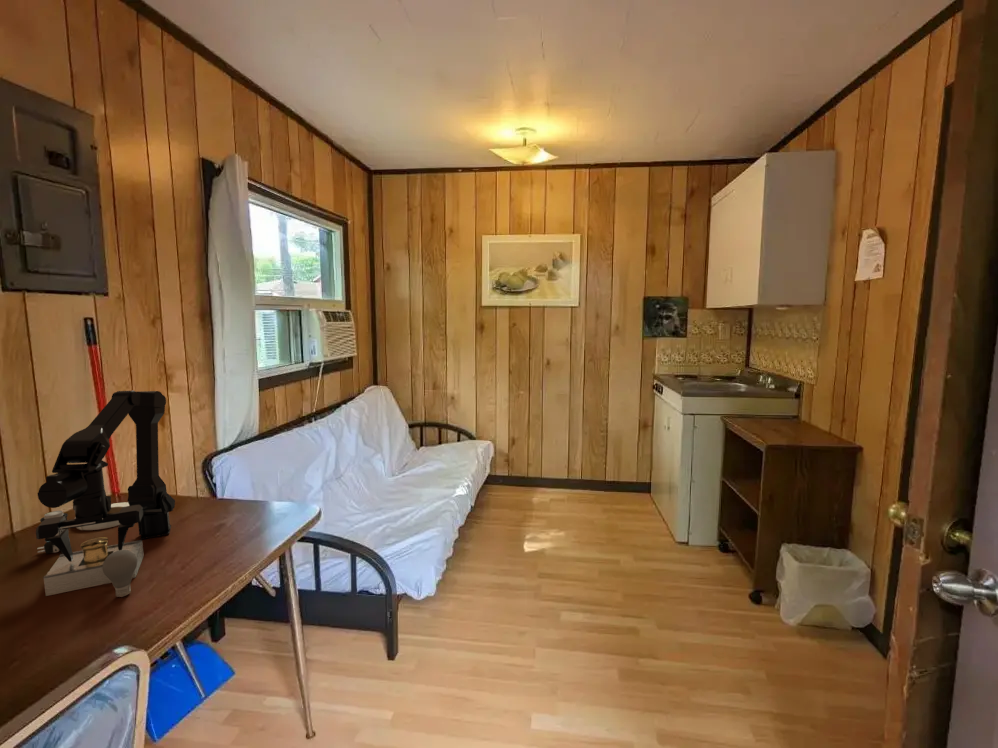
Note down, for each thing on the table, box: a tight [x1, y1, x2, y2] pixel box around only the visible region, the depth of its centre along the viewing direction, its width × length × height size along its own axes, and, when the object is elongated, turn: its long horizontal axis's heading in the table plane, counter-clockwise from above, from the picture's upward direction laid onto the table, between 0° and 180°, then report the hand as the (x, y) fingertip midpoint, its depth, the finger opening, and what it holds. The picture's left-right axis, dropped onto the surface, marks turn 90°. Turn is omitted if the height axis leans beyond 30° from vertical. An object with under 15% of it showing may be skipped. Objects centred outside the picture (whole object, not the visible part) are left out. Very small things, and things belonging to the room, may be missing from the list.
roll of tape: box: [75, 501, 129, 531], centre depth 152 cm, size 16×15×3 cm
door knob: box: [80, 536, 109, 565], centre depth 119 cm, size 5×5×8 cm
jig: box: [43, 539, 145, 597], centre depth 119 cm, size 16×12×4 cm
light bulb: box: [102, 550, 137, 598], centre depth 110 cm, size 6×6×10 cm
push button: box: [36, 510, 70, 554], centre depth 131 cm, size 7×5×10 cm
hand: (96, 556), depth 119 cm, fingers open, 9 cm apart
